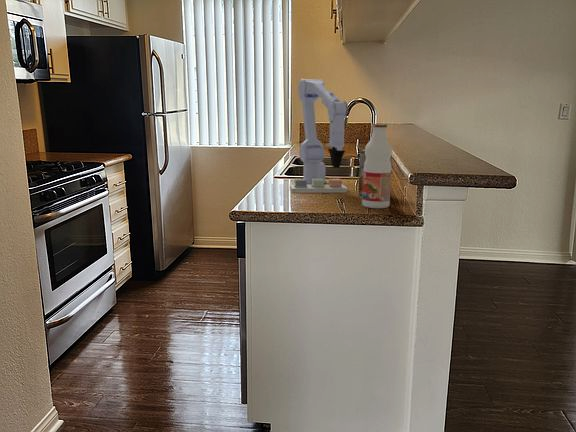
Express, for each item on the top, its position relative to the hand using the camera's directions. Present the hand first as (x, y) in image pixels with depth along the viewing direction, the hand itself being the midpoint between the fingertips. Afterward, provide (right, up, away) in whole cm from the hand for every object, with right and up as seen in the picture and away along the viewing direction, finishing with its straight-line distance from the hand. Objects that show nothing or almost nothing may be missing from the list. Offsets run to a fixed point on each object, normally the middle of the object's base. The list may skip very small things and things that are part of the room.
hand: (335, 167), depth 206 cm
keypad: (-7, -9, +2) cm, 12 cm away
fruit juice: (+11, -16, -28) cm, 34 cm away
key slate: (-14, -7, +1) cm, 16 cm away
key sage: (-7, -7, +1) cm, 10 cm away
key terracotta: (0, -7, +2) cm, 7 cm away
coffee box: (+13, -12, -6) cm, 19 cm away
